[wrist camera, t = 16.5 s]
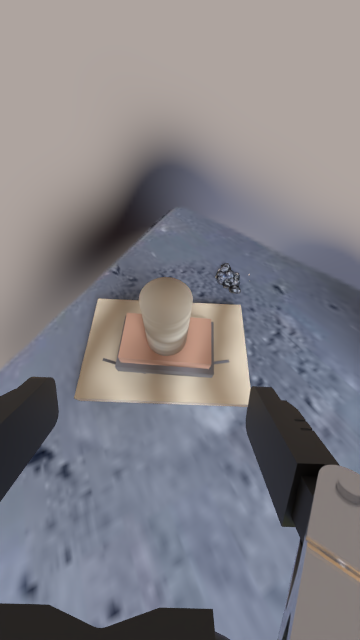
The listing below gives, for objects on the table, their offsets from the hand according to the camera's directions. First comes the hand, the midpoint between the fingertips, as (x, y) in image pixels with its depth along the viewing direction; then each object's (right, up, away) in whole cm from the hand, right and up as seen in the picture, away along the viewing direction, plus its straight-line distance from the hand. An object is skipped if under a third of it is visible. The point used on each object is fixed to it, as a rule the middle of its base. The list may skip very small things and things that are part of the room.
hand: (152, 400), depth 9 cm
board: (0, 0, +18) cm, 18 cm away
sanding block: (0, 0, +16) cm, 16 cm away
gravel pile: (+9, +9, +24) cm, 27 cm away
